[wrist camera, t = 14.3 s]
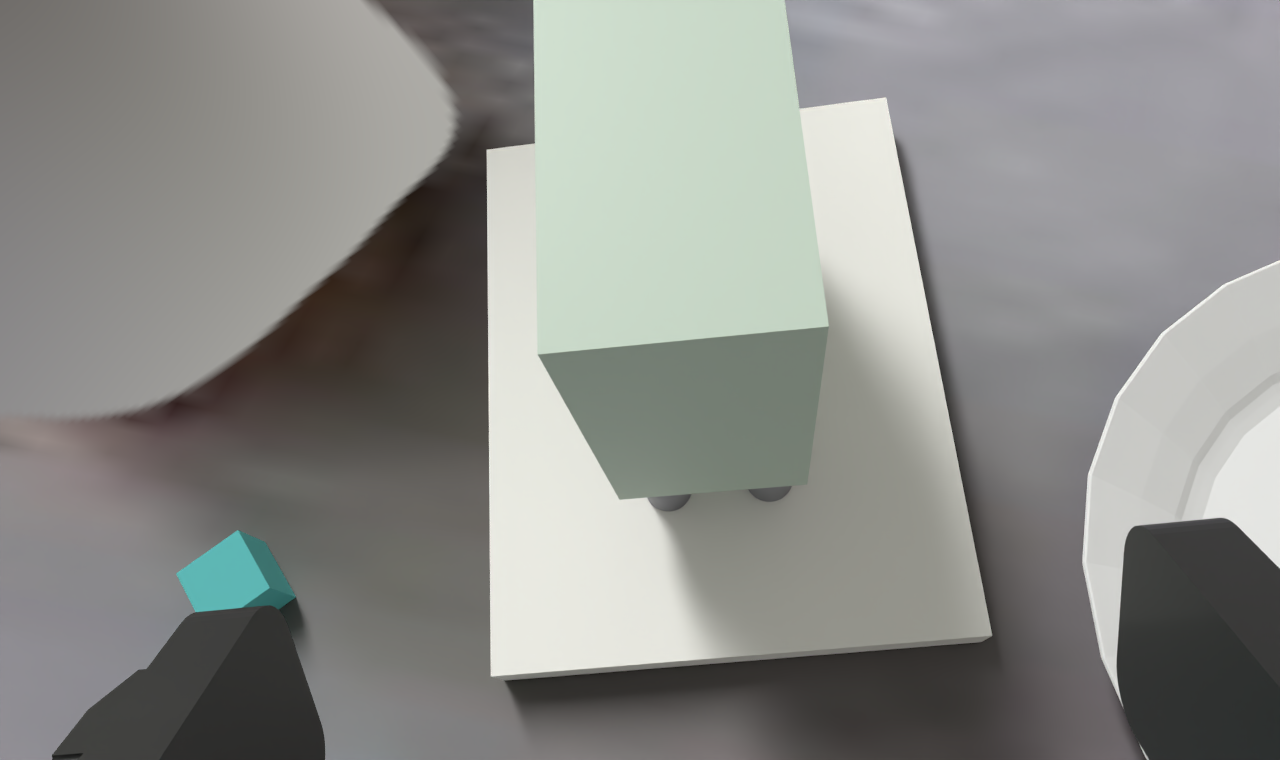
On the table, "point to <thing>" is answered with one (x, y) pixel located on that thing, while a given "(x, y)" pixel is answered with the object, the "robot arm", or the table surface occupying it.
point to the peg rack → (741, 519)
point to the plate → (1190, 439)
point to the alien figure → (235, 576)
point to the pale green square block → (677, 242)
